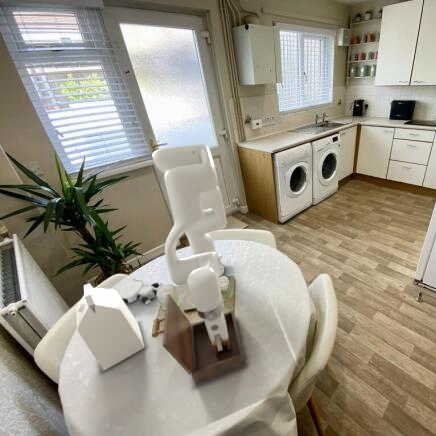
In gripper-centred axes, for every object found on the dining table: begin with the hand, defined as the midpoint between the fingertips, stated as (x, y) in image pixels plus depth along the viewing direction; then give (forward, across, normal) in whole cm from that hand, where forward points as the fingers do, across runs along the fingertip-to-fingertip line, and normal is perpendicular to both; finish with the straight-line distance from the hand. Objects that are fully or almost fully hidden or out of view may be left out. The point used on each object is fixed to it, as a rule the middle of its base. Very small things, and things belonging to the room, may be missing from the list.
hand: (221, 343), depth 78 cm
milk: (+2, +14, +32) cm, 35 cm away
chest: (+2, 0, +2) cm, 2 cm away
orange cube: (+1, 0, 0) cm, 1 cm away
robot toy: (+2, +36, +29) cm, 46 cm away
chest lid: (-12, 0, +10) cm, 15 cm away
